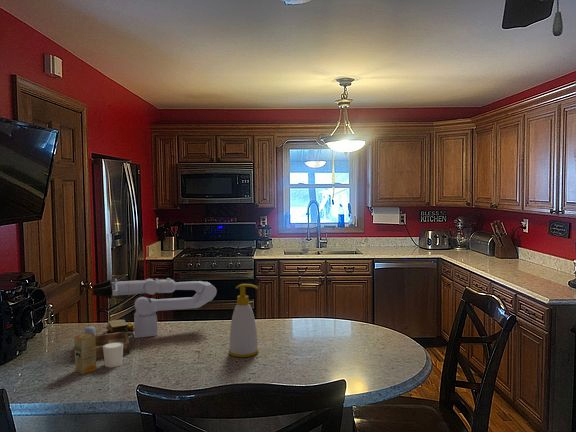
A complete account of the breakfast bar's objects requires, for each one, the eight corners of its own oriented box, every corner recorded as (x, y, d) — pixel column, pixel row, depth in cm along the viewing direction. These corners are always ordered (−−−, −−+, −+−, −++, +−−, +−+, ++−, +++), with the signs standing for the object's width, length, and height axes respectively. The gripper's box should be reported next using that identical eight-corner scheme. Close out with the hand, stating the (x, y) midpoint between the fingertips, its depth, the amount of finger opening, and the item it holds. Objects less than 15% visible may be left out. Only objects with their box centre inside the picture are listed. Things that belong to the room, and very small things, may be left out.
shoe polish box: (89, 366, 161) (88, 332, 160) (96, 369, 157) (95, 335, 157) (75, 370, 157) (74, 336, 156) (82, 374, 154) (81, 339, 153)
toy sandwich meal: (107, 340, 190) (107, 328, 190) (103, 331, 202) (103, 321, 202) (138, 335, 196) (138, 324, 196) (132, 327, 208) (132, 317, 208)
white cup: (98, 366, 161) (98, 346, 161) (114, 359, 167) (114, 340, 167) (112, 369, 158) (112, 349, 157) (128, 362, 164) (127, 343, 163)
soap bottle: (254, 359, 166) (253, 287, 165) (224, 357, 168) (223, 286, 167) (262, 348, 177) (261, 281, 176) (234, 346, 179) (233, 280, 178)
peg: (95, 340, 190) (95, 326, 189) (95, 343, 186) (95, 328, 186) (85, 341, 188) (84, 327, 188) (84, 344, 184) (84, 329, 184)
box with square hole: (127, 341, 188) (126, 331, 187) (129, 353, 173) (129, 343, 173) (79, 347, 181) (78, 337, 181) (77, 360, 166) (77, 350, 166)
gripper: (126, 274, 199) (93, 276, 194) (129, 282, 186) (92, 284, 180) (126, 290, 200) (93, 292, 194) (129, 299, 186) (92, 302, 181)
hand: (92, 289), depth 187 cm, fingers open, 7 cm apart
